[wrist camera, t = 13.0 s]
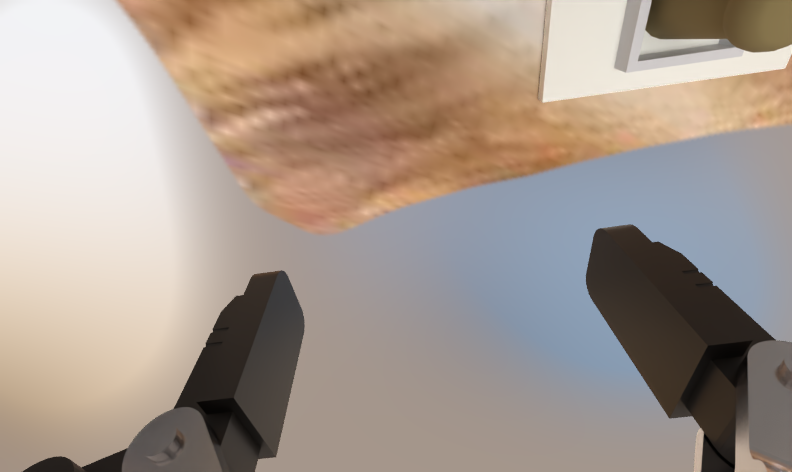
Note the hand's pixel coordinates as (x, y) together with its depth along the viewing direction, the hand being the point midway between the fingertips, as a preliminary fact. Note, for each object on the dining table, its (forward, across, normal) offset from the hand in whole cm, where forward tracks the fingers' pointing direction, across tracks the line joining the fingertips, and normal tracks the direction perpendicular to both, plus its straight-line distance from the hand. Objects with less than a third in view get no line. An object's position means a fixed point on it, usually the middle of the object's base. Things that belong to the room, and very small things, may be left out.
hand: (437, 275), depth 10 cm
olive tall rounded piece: (+28, -24, -2) cm, 37 cm away
